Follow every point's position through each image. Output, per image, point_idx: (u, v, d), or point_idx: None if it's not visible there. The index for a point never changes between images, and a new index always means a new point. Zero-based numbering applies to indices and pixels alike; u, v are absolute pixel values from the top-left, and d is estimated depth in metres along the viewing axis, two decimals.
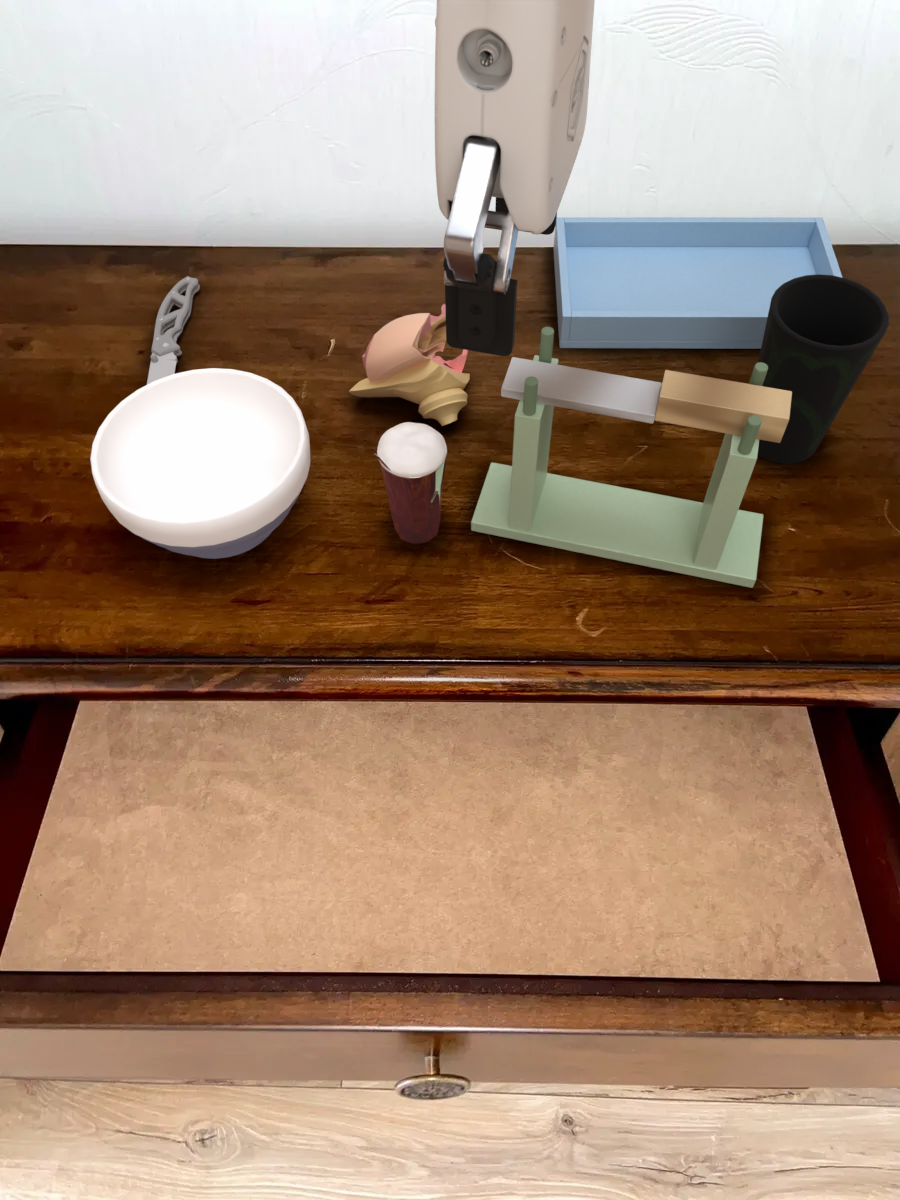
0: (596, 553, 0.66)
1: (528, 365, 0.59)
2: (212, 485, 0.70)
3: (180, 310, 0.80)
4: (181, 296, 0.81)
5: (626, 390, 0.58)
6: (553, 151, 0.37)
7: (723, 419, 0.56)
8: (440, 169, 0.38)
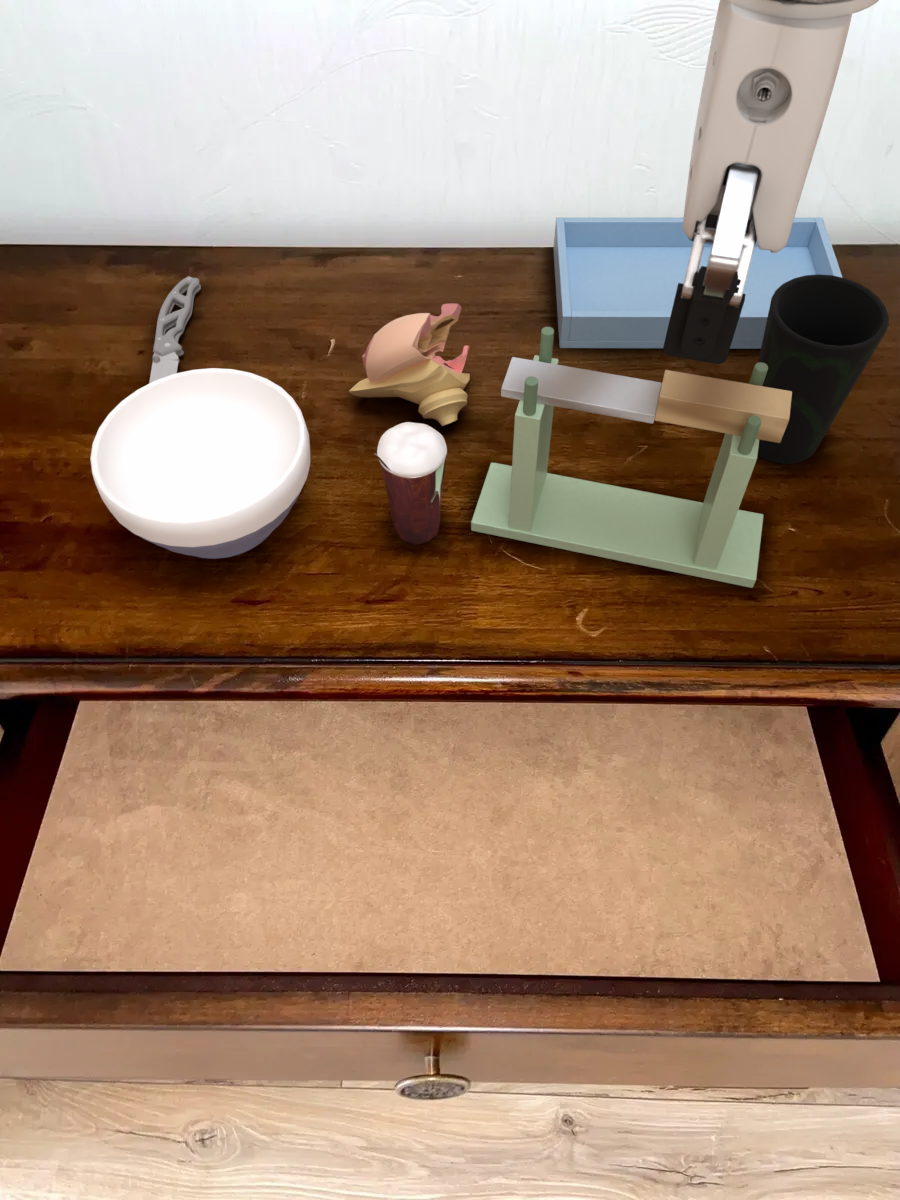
0: (596, 553, 0.66)
1: (528, 365, 0.59)
2: (212, 485, 0.70)
3: (181, 310, 0.80)
4: (182, 296, 0.81)
5: (626, 390, 0.58)
6: None
7: (723, 419, 0.56)
8: (695, 192, 0.41)
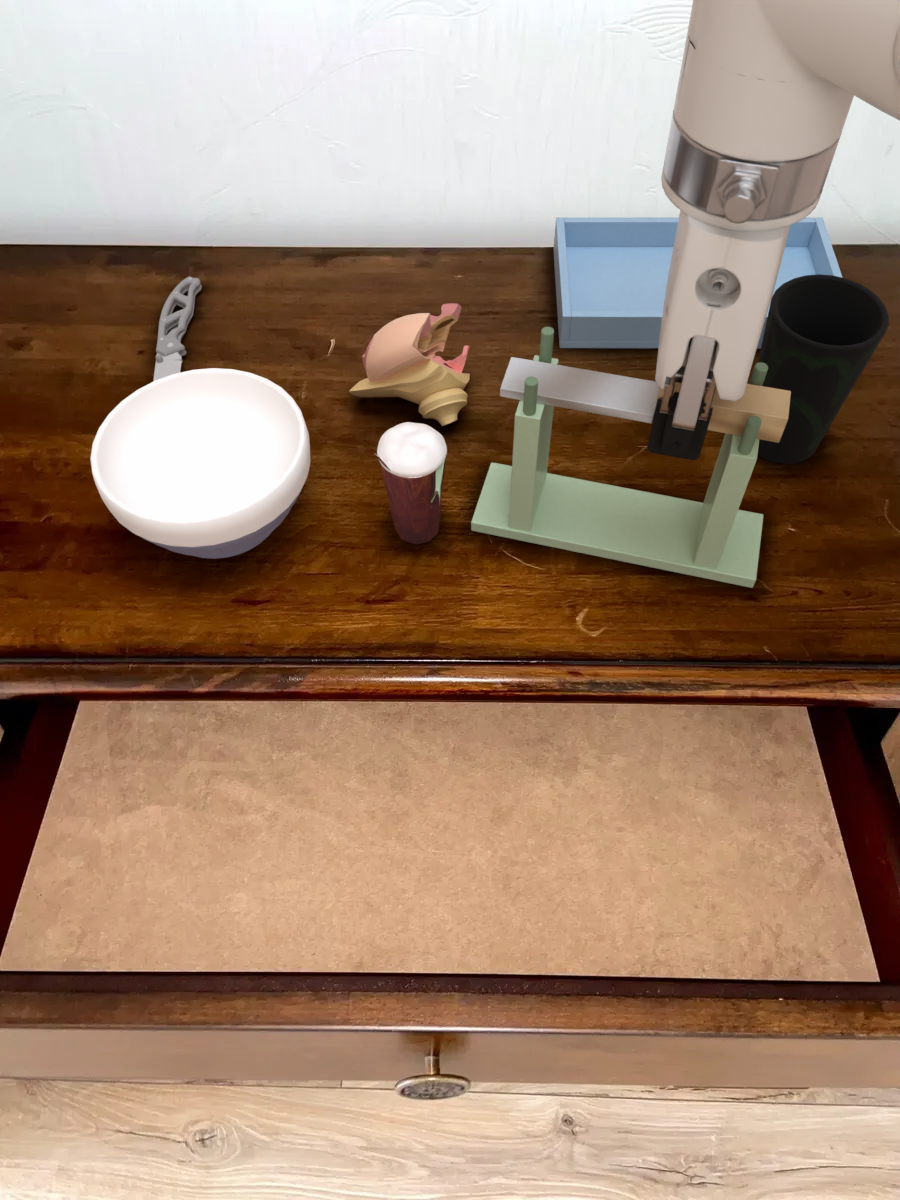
0: (596, 553, 0.66)
1: (527, 365, 0.59)
2: (212, 485, 0.70)
3: (183, 310, 0.80)
4: (184, 296, 0.82)
5: (625, 390, 0.58)
6: (757, 345, 0.48)
7: (722, 419, 0.56)
8: (664, 355, 0.49)
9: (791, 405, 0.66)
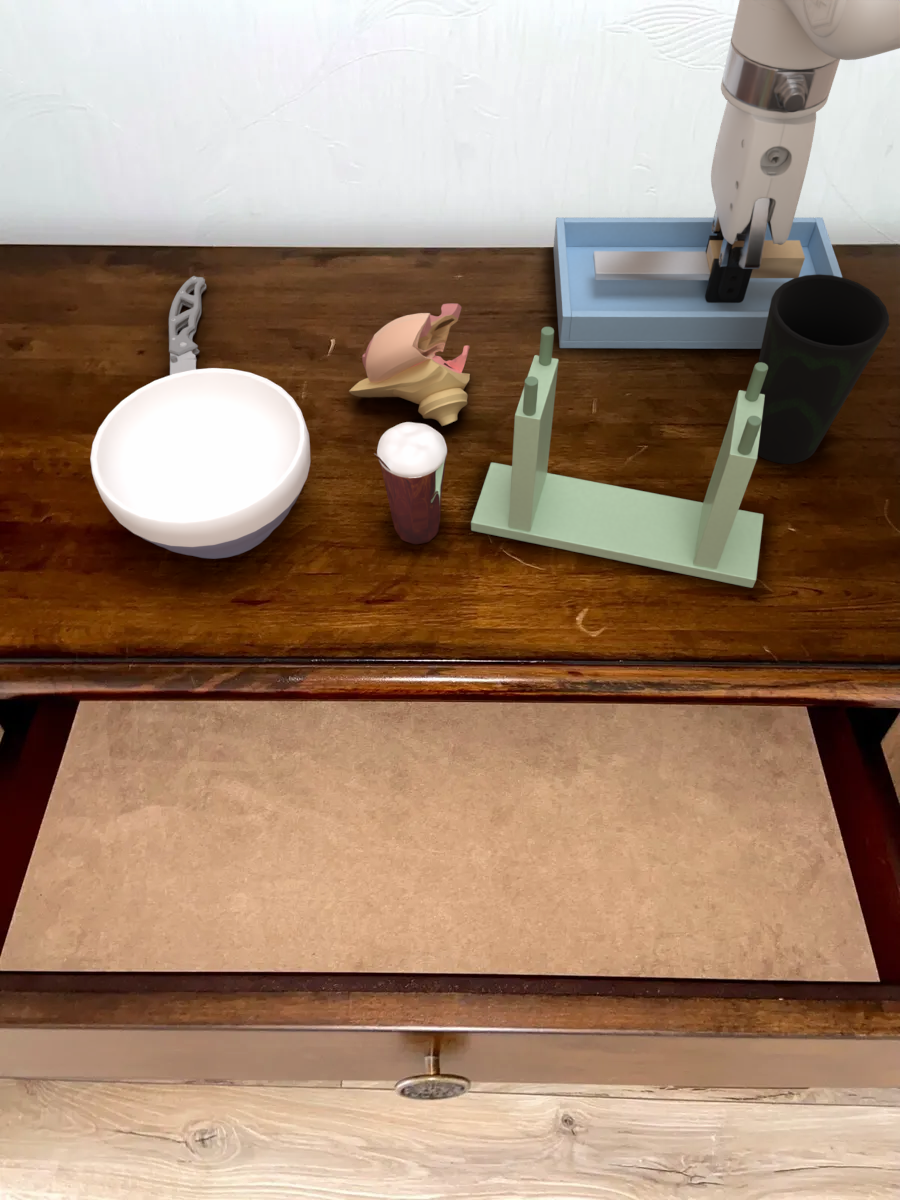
0: (596, 553, 0.66)
1: (608, 255, 0.80)
2: (212, 485, 0.70)
3: (192, 309, 0.80)
4: (190, 296, 0.81)
5: (683, 260, 0.80)
6: None
7: None
8: (736, 217, 0.71)
9: (791, 405, 0.66)
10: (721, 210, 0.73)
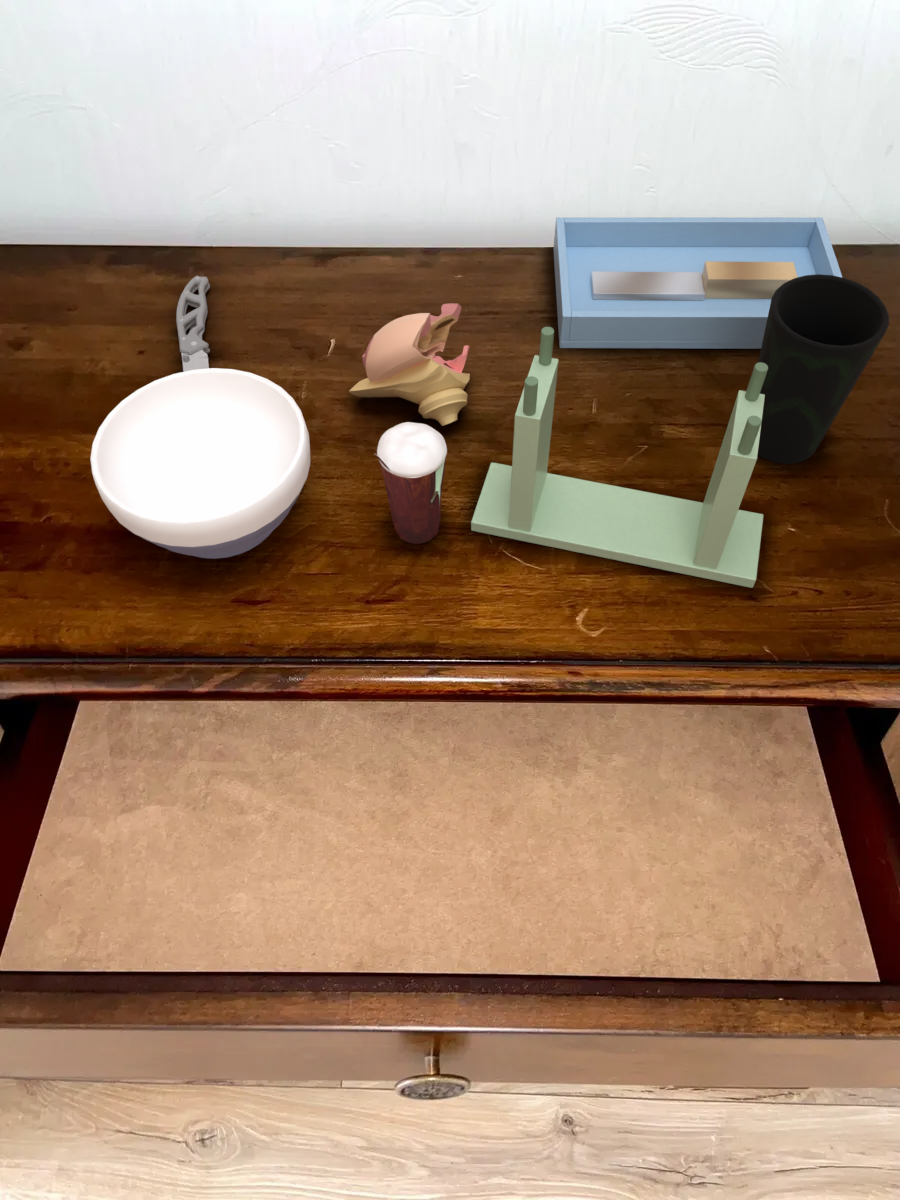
0: (596, 553, 0.66)
1: (605, 275, 0.82)
2: (212, 485, 0.70)
3: (198, 309, 0.81)
4: (196, 295, 0.82)
5: (679, 280, 0.81)
6: None
7: (753, 288, 0.80)
8: None
9: (791, 405, 0.66)
10: None
